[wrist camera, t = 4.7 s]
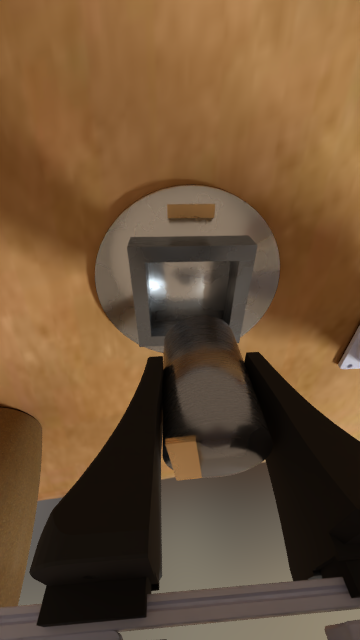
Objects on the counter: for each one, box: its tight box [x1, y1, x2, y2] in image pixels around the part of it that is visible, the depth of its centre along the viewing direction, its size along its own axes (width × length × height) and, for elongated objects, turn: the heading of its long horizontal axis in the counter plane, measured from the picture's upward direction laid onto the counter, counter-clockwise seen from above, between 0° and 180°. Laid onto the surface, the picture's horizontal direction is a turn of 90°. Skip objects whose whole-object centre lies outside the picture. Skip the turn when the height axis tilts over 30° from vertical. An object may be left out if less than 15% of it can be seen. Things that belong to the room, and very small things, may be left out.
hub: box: [95, 185, 280, 353], centre depth 18 cm, size 14×14×3 cm
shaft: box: [163, 315, 273, 480], centre depth 11 cm, size 4×4×6 cm
